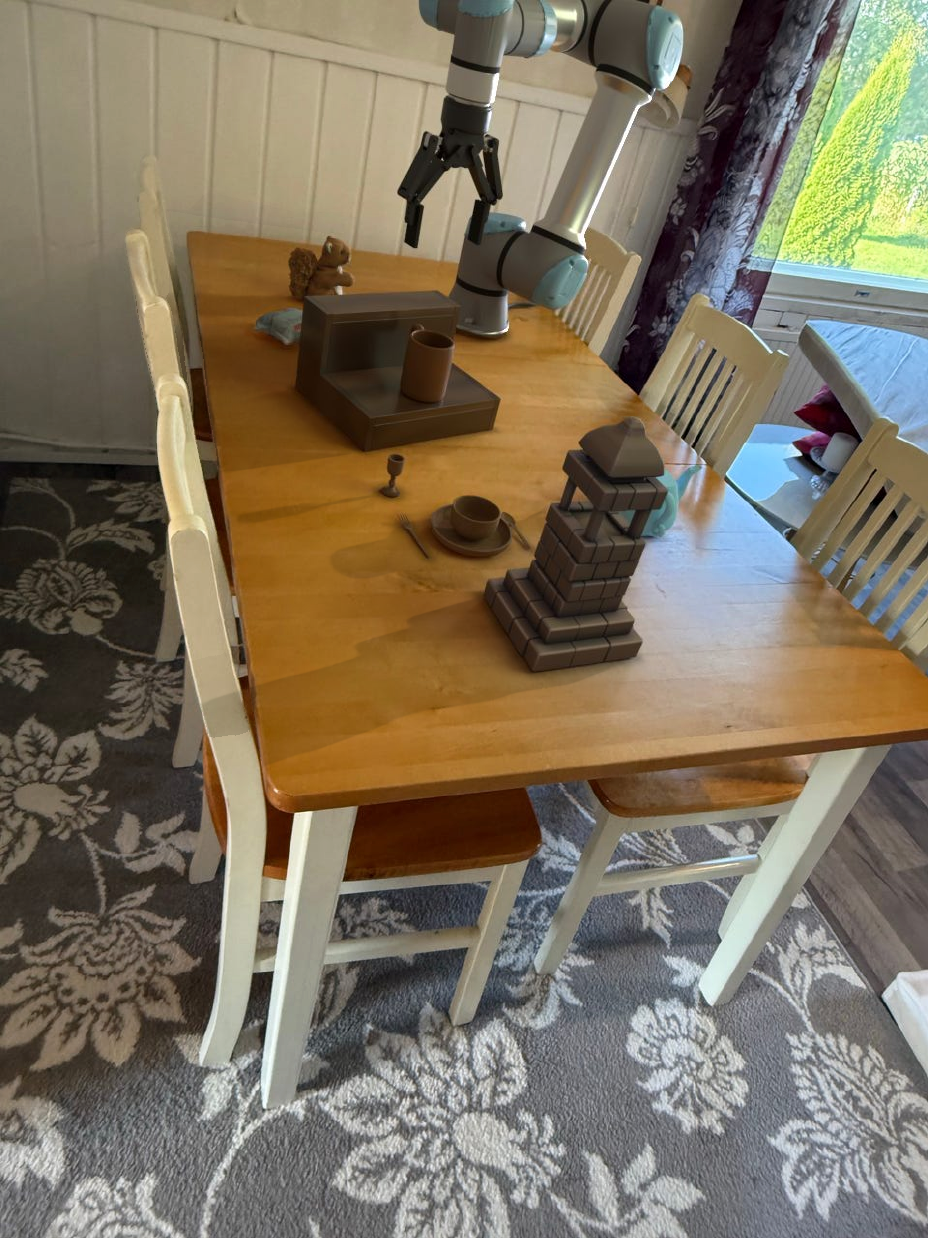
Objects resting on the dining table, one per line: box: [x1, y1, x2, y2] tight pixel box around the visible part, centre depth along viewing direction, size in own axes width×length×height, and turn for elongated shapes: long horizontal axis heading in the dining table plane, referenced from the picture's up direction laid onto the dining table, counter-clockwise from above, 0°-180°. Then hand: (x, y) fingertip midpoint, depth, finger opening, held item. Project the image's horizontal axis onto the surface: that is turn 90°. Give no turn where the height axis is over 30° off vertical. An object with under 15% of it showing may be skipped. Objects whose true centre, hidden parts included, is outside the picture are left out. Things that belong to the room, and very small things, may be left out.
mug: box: [400, 324, 456, 403], centre depth 140 cm, size 12×8×9 cm, turn 23°
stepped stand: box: [294, 289, 502, 453], centre depth 144 cm, size 22×27×16 cm
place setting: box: [380, 453, 532, 558], centre depth 123 cm, size 18×20×6 cm
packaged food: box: [254, 307, 303, 346], centre depth 160 cm, size 9×12×5 cm
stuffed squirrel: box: [287, 235, 355, 303], centre depth 175 cm, size 10×14×13 cm
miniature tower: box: [482, 416, 668, 672], centre depth 102 cm, size 16×15×30 cm
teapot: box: [619, 465, 703, 538], centre depth 133 cm, size 13×14×11 cm
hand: (443, 243), depth 142 cm, fingers open, 13 cm apart
